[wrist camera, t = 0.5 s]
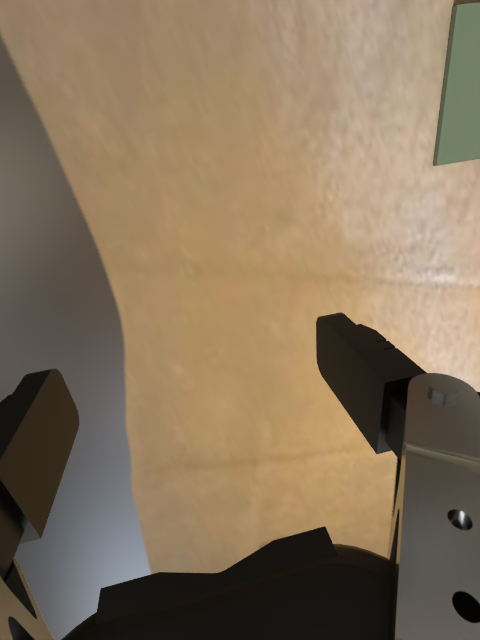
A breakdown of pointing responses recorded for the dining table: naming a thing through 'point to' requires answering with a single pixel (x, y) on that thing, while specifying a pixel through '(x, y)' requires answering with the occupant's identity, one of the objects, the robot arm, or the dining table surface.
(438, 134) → the mat
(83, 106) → the dining table surface
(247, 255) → the dining table surface
